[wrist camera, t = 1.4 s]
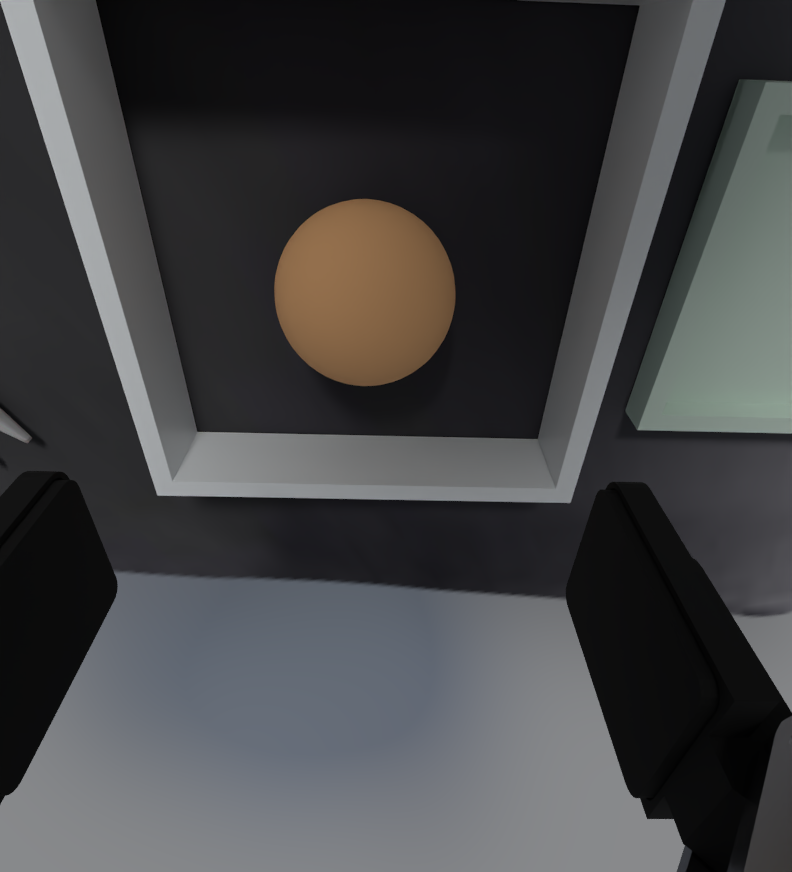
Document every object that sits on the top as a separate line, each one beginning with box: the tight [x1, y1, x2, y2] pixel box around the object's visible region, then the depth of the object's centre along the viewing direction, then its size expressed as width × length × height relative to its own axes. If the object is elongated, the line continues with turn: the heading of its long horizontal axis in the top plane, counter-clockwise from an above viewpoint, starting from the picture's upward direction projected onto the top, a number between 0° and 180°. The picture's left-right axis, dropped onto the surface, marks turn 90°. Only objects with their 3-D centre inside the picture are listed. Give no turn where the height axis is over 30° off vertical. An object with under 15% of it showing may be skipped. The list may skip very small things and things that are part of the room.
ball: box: [274, 199, 456, 386], centre depth 18 cm, size 6×6×6 cm
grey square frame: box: [0, 0, 726, 503], centre depth 19 cm, size 18×18×4 cm
